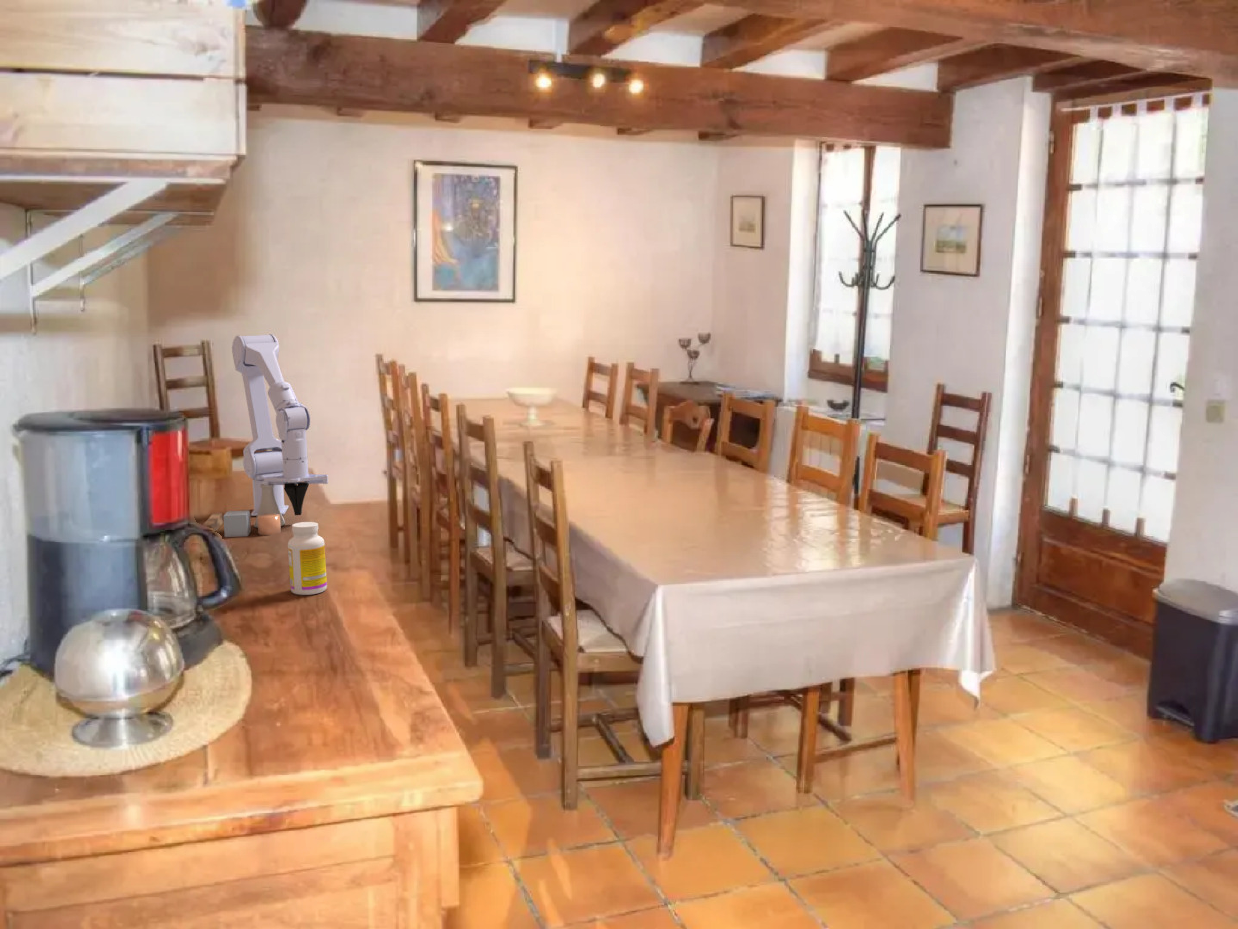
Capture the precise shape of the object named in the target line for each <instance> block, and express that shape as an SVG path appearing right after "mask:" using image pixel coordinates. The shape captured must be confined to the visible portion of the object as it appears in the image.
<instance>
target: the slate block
mask: <svg viewBox="0 0 1238 929" xmlns="http://www.w3.org/2000/svg"><path fill="white" fill-rule="evenodd" d="M222 519H223V530H224V538H230V537H231V538H233V537H234V538H235V537H248V536H250V533H251V531H252V527H251V525H252V524H251V511H250V510H246V509H245V510H229V511H226V512H225V513H224V514H223V515H222Z"/></svg>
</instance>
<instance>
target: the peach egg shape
mask: <svg viewBox="0 0 1238 929" xmlns="http://www.w3.org/2000/svg"><path fill="white" fill-rule="evenodd" d="M256 518H257V521H258V527H257V532H258V535H260V536H273V535H278V534H281V533H282V530H281V529H282V526H281V524H280V515H279V514H262V515H259V516H256Z"/></svg>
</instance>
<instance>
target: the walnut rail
mask: <svg viewBox="0 0 1238 929" xmlns="http://www.w3.org/2000/svg"><path fill="white" fill-rule="evenodd" d="M222 524H224V518H223V512H215V513H211V515H210V516H209V517H208V518H207V520H206V521H205V522H204V523H203V524H202V525H204V526H207V527H209V528H213V529H214V530H215V531H216V532H217V531H218V529H219V528H220V527H221V526H222Z"/></svg>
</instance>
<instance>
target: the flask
mask: <svg viewBox="0 0 1238 929" xmlns="http://www.w3.org/2000/svg"><path fill="white" fill-rule="evenodd" d="M260 487H261V488H262V497H261V503H260V507H259V511H258V514H257V516H259V515H262V514H279V515H280V524H281V527H282V526H285V524H286V522H285V519H284V516H283V515H282V514H281V512H280V510H279V507H278V505H277V503H276V500H275V496H274V492H273V487H274V484H273V485H264V484H261V485H260ZM257 516H256V518H255V522H254V525H253V528H258V521H257Z"/></svg>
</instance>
